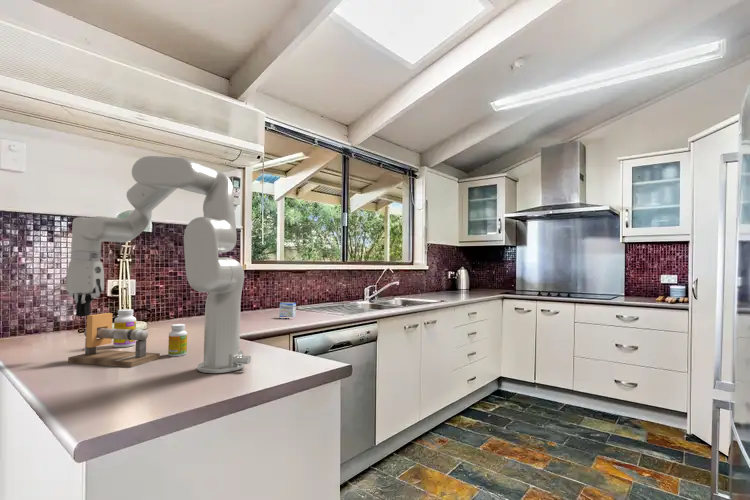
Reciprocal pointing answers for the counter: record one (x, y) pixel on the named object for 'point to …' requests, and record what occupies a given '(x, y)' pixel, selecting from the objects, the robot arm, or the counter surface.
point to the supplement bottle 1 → (124, 327)
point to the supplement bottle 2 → (177, 340)
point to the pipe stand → (117, 356)
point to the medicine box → (287, 310)
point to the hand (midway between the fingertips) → (82, 315)
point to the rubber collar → (92, 326)
